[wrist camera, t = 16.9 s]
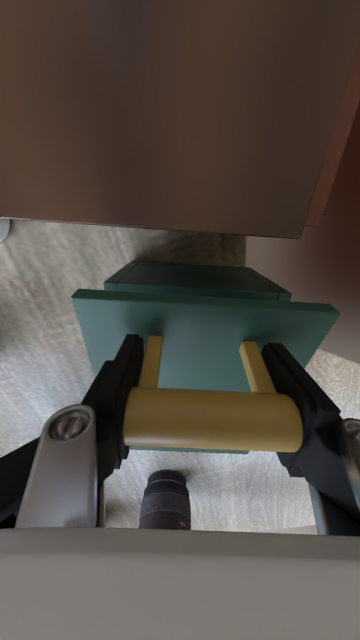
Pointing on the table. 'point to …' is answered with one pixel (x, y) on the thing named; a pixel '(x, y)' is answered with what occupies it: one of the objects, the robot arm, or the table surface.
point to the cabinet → (170, 110)
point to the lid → (203, 367)
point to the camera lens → (166, 503)
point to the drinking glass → (4, 228)
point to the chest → (195, 281)
